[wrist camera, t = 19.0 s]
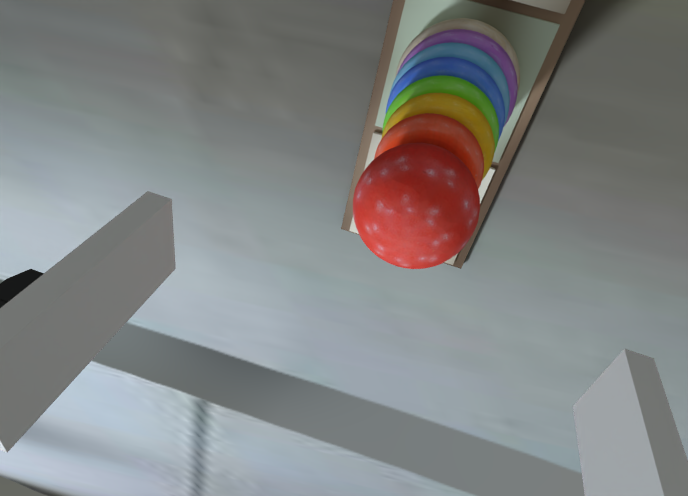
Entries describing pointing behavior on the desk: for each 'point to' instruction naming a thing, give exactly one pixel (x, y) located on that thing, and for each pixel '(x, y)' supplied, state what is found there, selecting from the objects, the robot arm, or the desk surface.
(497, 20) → the board
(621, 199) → the desk surface
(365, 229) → the stacking toy
